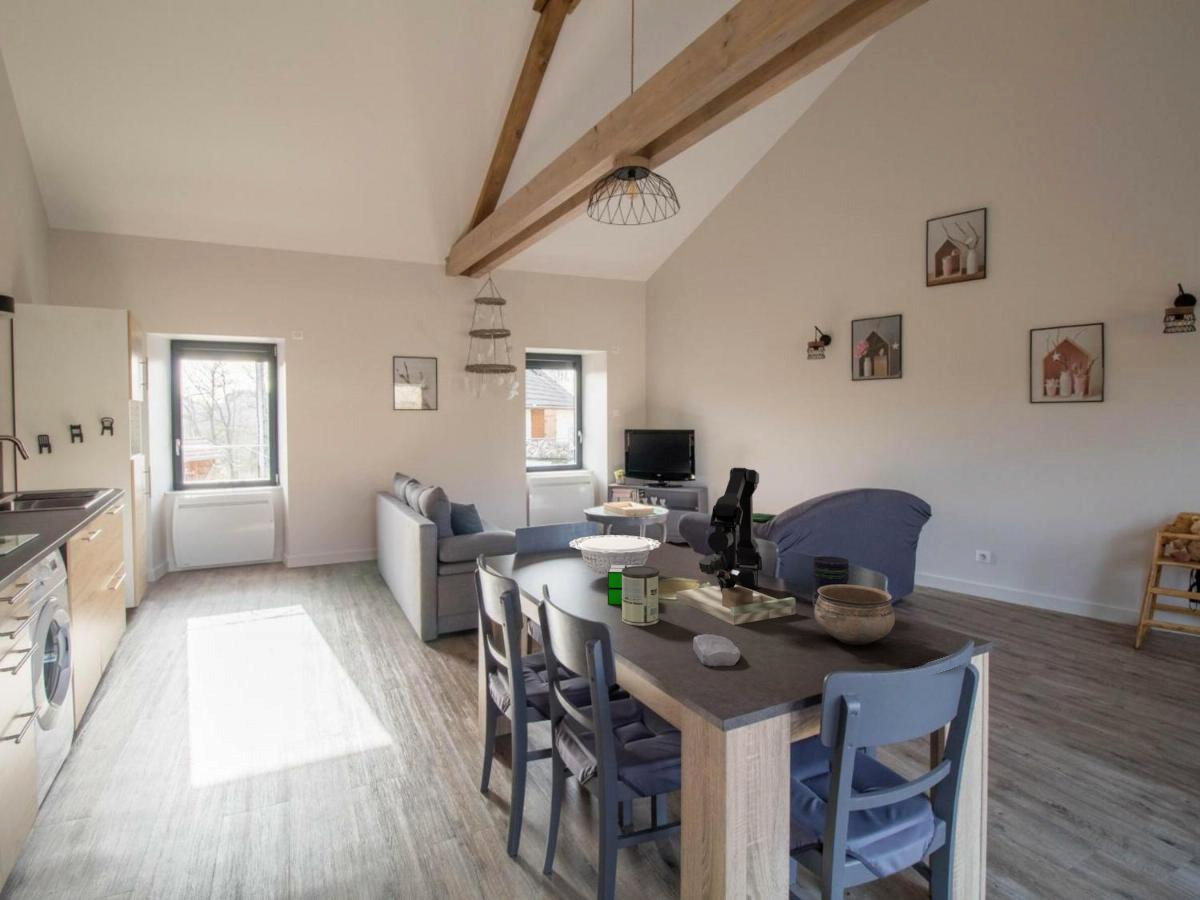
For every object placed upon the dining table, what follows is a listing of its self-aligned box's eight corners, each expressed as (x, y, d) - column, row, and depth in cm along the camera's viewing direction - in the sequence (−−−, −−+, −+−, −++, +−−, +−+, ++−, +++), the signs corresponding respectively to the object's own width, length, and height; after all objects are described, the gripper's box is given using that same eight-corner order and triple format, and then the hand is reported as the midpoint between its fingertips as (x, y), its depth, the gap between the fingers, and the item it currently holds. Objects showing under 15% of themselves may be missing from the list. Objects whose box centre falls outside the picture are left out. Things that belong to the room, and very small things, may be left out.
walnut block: (738, 603, 194) (739, 586, 193) (752, 608, 188) (752, 591, 188) (722, 605, 191) (722, 588, 191) (735, 611, 185) (735, 593, 185)
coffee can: (627, 613, 192) (627, 564, 191) (662, 616, 189) (663, 567, 188) (616, 623, 182) (616, 572, 182) (653, 627, 179) (653, 575, 178)
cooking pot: (855, 662, 154) (856, 610, 153) (789, 640, 170) (790, 592, 169) (916, 642, 168) (918, 594, 167) (851, 623, 184) (852, 578, 183)
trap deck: (733, 591, 217) (733, 577, 216) (795, 614, 192) (795, 598, 191) (675, 599, 206) (676, 585, 206) (733, 624, 182) (733, 608, 181)
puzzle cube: (642, 597, 210) (642, 565, 209) (641, 606, 200) (641, 572, 199) (610, 596, 211) (610, 564, 210) (607, 605, 201) (607, 571, 200)
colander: (677, 576, 237) (677, 540, 236) (632, 596, 210) (632, 556, 209) (600, 565, 254) (600, 531, 253) (550, 582, 227) (550, 545, 227)
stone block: (728, 655, 164) (688, 648, 163) (732, 636, 164) (693, 629, 162) (743, 676, 152) (700, 668, 151) (747, 655, 152) (705, 648, 151)
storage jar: (849, 608, 198) (850, 558, 197) (846, 617, 189) (847, 564, 188) (814, 604, 202) (815, 555, 201) (810, 613, 193) (810, 561, 192)
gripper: (684, 542, 198) (684, 594, 199) (724, 554, 181) (723, 611, 182) (715, 539, 203) (714, 590, 204) (756, 550, 186) (755, 606, 187)
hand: (725, 598), depth 194 cm, fingers closed
